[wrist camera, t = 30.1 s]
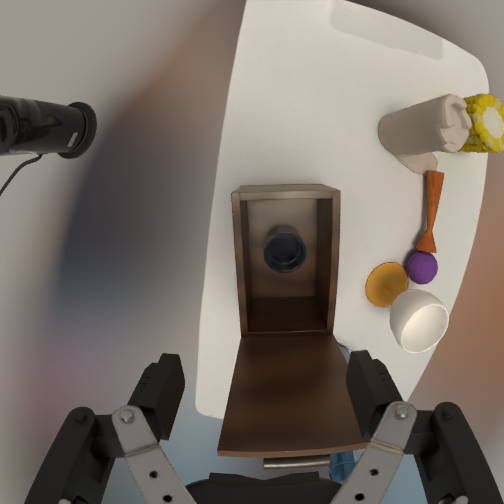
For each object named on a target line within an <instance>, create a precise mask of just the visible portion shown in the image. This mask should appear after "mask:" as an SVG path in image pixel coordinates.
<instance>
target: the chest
mask: <svg viewBox="0 0 504 504" xmlns="http://www.w3.org/2000/svg"><path fill="white" fill-rule="evenodd" d="M231 196H232V213H233V229H234V245H235V260H236V274H237V288H238V302H239V315H240V328H241V338H271V337H299V336H317V335H332V334H333V327H334V317H335V306H336V294H337V281H338V264H339V242H340V190H337V189H334V188H331V187H329V186H326V185H323V184H284V185H254V186H240V187H239V188H238V189H236V190H235V191H234V192H232V193H231ZM277 226H290V227H292V228H293V229H295V230H297V231H298V233H299V234H300V236H301V237H302V239H303V241H304V243H305V246H306V259H305V261H304V262H303V264H302V265H301V267H300V268H298V269H297V270H295V271H293V272H291V273H278V272H276V271H274V270H272V269H270V268H269V266H268V265H267V263H266V262H265V260H264V251H263V246H264V239H265V237H266V235H267V234H268V232H269V231H270V230H272V229H274V228H275V227H277Z"/></svg>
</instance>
